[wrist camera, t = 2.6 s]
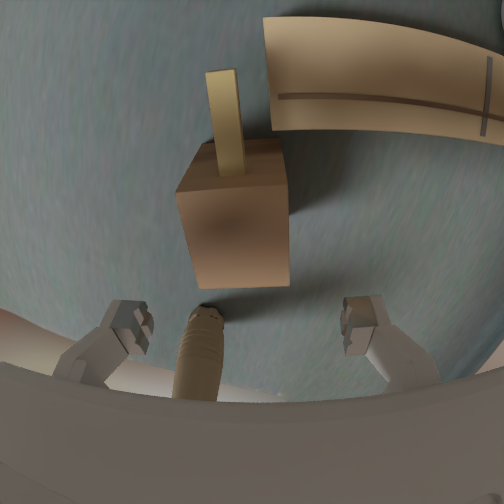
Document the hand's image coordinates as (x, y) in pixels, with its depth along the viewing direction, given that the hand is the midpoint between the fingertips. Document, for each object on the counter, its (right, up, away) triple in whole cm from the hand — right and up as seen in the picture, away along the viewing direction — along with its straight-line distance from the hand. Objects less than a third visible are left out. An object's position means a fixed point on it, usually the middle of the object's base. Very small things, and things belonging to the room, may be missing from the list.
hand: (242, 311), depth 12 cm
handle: (-4, -4, +17) cm, 18 cm away
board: (+9, +13, +3) cm, 16 cm away
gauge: (0, +9, +7) cm, 11 cm away
